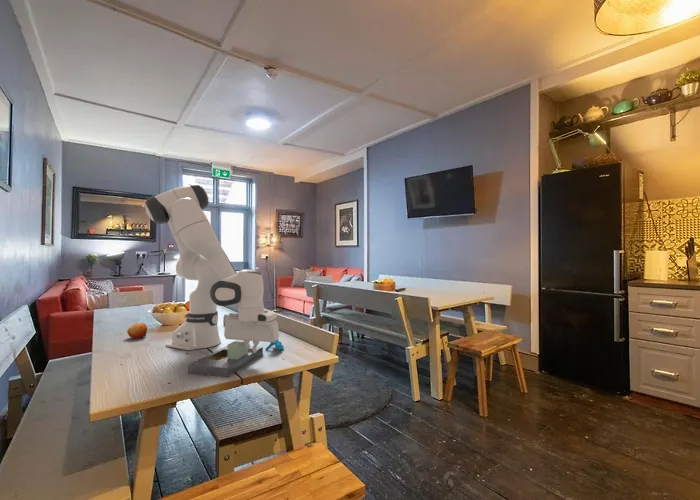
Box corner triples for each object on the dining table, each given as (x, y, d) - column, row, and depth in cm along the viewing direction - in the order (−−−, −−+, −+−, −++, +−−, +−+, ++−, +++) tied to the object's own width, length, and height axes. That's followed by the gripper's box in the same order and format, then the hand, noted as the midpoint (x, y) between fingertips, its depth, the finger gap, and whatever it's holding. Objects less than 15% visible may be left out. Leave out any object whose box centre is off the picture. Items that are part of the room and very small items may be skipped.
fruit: (154, 333, 162) (145, 320, 159) (139, 344, 157) (130, 332, 153) (146, 330, 167) (137, 318, 163) (131, 342, 161) (121, 329, 157)
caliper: (223, 325, 185) (223, 314, 185) (225, 325, 186) (225, 313, 186) (240, 332, 170) (240, 319, 170) (242, 331, 171) (242, 319, 171)
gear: (282, 349, 134) (265, 331, 135) (271, 360, 133) (254, 342, 134) (287, 345, 145) (271, 329, 146) (277, 355, 144) (261, 339, 145)
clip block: (227, 358, 119) (227, 344, 119) (238, 352, 126) (238, 339, 126) (237, 359, 118) (237, 345, 118) (248, 353, 125) (248, 339, 125)
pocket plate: (188, 373, 113) (188, 364, 113) (229, 352, 137) (229, 344, 137) (227, 377, 110) (227, 368, 110) (262, 354, 133) (262, 347, 133)
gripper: (220, 314, 121) (220, 353, 121) (273, 317, 116) (273, 357, 116) (230, 311, 127) (230, 347, 127) (280, 313, 122) (281, 351, 122)
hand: (251, 352), depth 122 cm, fingers closed
